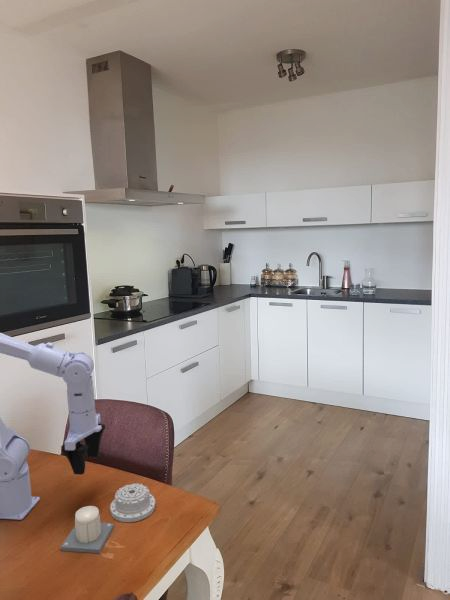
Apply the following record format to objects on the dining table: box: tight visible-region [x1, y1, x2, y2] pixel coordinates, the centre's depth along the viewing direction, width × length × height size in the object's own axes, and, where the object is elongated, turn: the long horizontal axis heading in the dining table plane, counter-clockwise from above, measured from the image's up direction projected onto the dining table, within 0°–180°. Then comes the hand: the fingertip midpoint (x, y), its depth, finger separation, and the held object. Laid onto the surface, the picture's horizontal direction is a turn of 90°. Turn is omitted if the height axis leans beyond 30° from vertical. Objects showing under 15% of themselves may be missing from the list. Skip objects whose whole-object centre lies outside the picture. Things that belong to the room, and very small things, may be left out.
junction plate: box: [60, 522, 115, 554], centre depth 95 cm, size 8×8×4 cm
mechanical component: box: [109, 482, 156, 523], centre depth 104 cm, size 10×4×10 cm
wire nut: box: [74, 505, 101, 543], centre depth 94 cm, size 5×5×5 cm
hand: (86, 464), depth 106 cm, fingers open, 7 cm apart
